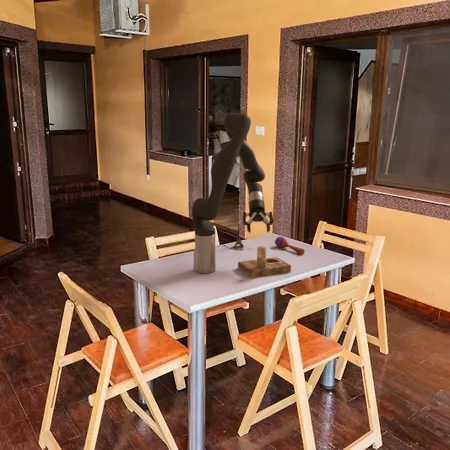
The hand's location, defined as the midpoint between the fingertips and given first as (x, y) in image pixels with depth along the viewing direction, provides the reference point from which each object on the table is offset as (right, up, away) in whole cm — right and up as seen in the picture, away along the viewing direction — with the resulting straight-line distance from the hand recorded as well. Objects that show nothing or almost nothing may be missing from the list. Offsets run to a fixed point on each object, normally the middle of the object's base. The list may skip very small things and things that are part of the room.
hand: (258, 231), depth 222 cm
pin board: (+2, -17, -2) cm, 18 cm away
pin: (+1, -15, -7) cm, 17 cm away
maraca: (+18, -10, +29) cm, 36 cm away
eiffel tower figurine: (-9, -9, +35) cm, 38 cm away
